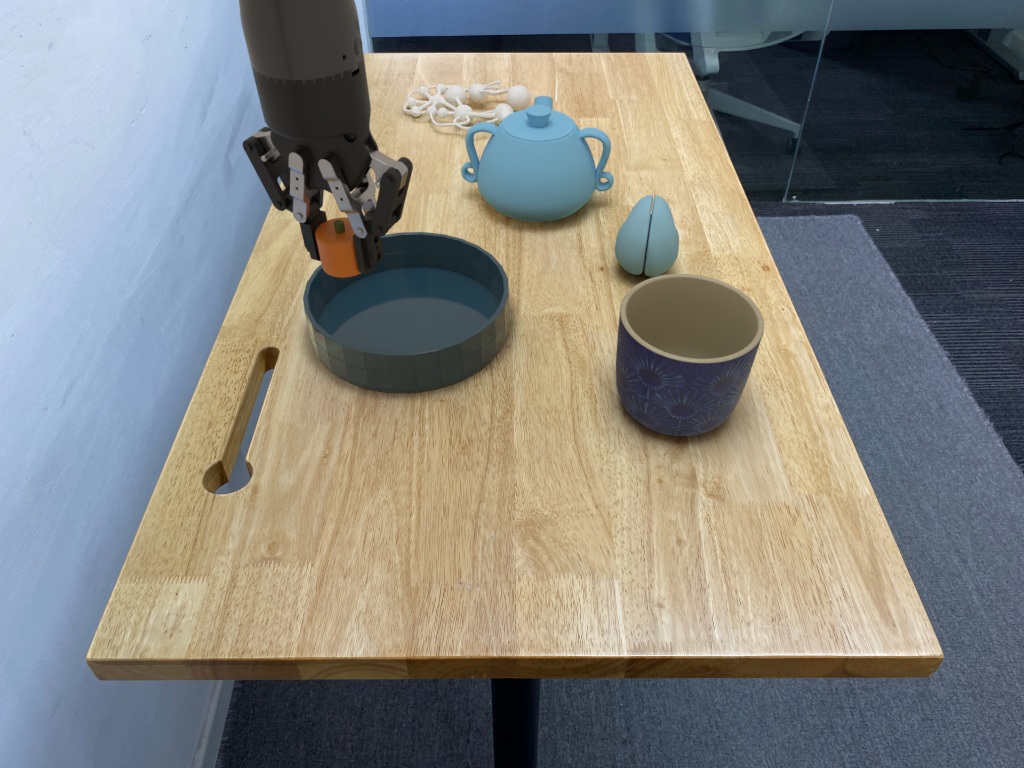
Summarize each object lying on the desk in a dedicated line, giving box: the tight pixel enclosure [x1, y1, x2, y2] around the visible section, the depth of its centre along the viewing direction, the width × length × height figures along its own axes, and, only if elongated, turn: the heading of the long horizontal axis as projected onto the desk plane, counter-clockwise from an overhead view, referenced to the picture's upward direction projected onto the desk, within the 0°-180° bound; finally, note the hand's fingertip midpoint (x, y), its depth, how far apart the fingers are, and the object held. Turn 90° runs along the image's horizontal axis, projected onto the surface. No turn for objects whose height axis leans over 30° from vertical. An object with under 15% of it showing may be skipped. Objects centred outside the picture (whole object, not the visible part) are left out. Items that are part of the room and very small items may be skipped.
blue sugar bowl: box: [460, 95, 615, 223], centre depth 99 cm, size 20×20×13 cm
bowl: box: [302, 231, 510, 394], centre depth 81 cm, size 21×21×5 cm
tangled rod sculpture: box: [402, 79, 532, 131], centre depth 119 cm, size 19×14×4 cm
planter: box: [615, 273, 765, 437], centre depth 71 cm, size 12×12×11 cm
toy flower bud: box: [614, 194, 680, 278], centre depth 89 cm, size 7×9×12 cm
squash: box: [315, 216, 361, 278], centre depth 63 cm, size 4×4×4 cm
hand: (346, 260), depth 64 cm, fingers closed on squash, 4 cm apart
